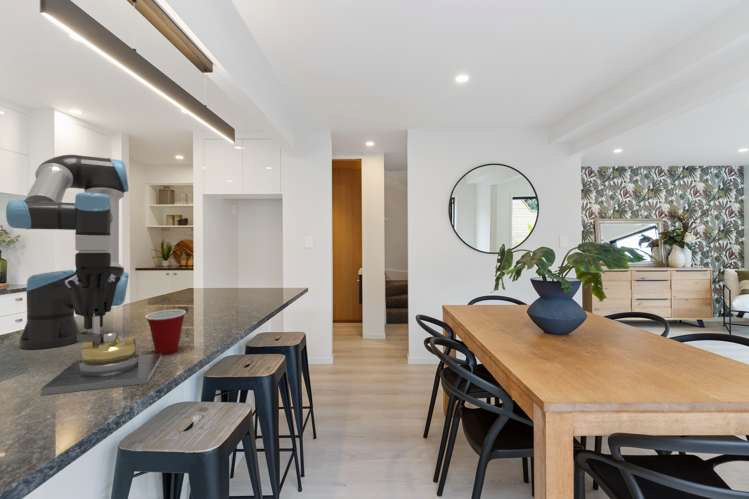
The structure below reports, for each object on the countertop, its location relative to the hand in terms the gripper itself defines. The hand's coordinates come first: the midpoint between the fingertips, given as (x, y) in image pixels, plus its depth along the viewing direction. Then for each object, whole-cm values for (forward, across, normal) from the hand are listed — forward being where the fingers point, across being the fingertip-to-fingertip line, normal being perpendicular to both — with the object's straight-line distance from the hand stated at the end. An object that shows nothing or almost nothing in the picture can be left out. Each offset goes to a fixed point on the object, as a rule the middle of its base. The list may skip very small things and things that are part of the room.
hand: (93, 340), depth 99 cm
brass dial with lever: (+3, +2, +7) cm, 7 cm away
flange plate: (+7, +2, +10) cm, 12 cm away
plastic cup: (+7, -17, +5) cm, 19 cm away
